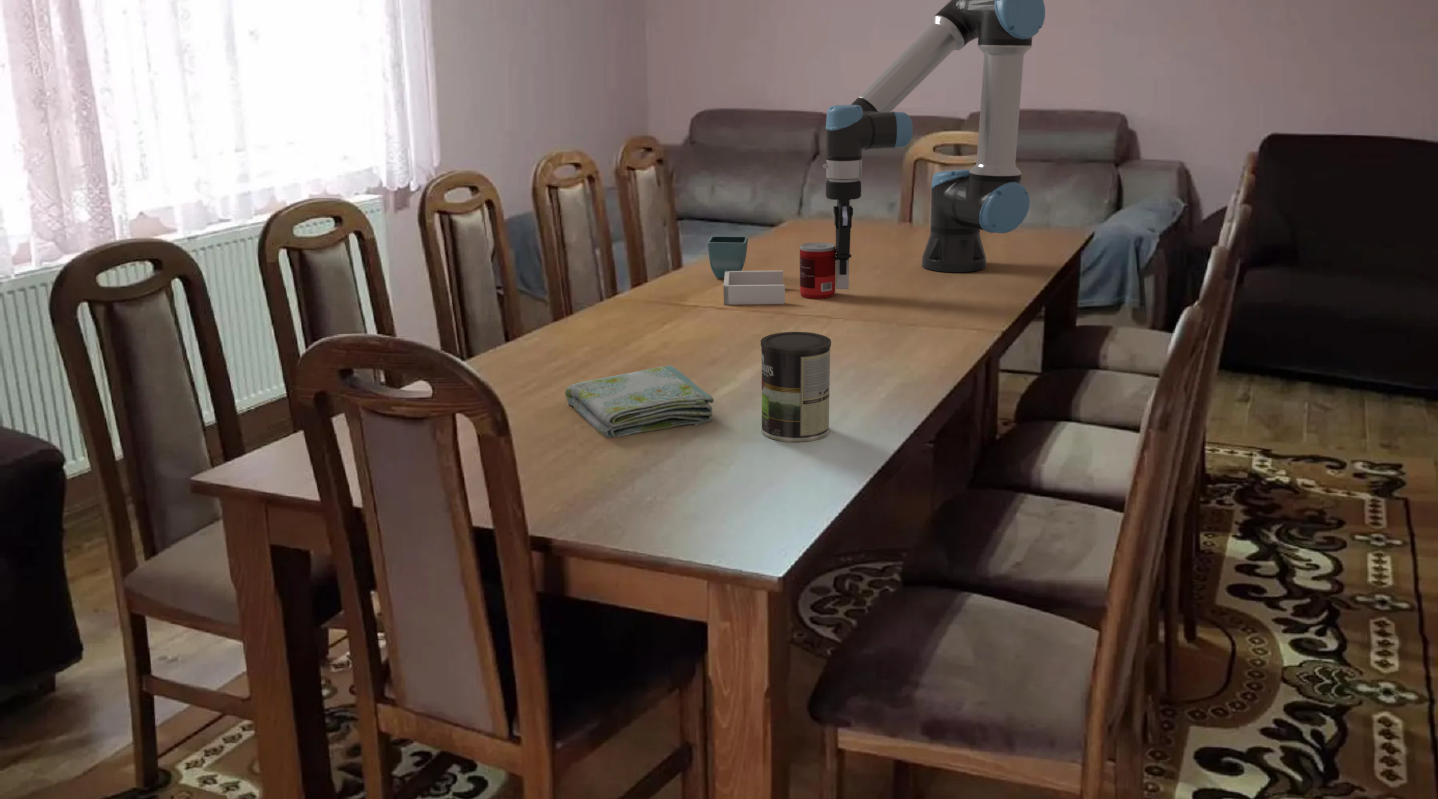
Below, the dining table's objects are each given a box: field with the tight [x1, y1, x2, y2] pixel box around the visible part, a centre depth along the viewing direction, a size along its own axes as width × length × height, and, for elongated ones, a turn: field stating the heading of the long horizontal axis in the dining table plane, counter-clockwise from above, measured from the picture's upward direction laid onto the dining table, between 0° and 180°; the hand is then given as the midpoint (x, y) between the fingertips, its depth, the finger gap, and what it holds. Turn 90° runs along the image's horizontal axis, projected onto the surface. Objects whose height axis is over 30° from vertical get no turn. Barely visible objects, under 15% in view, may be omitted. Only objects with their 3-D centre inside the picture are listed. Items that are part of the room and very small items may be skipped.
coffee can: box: [760, 331, 832, 443], centre depth 188 cm, size 10×10×14 cm
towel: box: [564, 365, 715, 438], centre depth 200 cm, size 18×21×5 cm
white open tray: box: [723, 270, 786, 306], centre depth 279 cm, size 13×16×4 cm
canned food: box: [799, 242, 836, 300], centre depth 277 cm, size 8×8×11 cm
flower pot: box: [706, 235, 749, 279], centre depth 298 cm, size 9×9×9 cm
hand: (842, 288), depth 278 cm, fingers closed
